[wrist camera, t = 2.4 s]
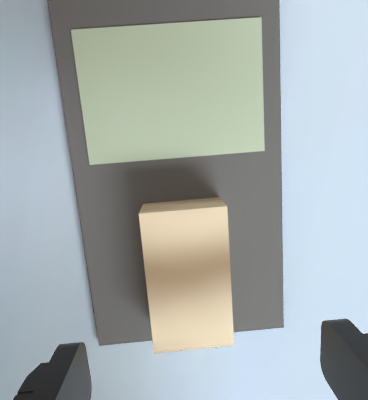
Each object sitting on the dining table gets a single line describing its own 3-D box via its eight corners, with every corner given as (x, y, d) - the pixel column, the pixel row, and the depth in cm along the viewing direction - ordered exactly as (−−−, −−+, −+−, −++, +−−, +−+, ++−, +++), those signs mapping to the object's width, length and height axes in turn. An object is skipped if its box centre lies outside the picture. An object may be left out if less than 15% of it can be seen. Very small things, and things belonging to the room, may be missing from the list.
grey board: (281, 323, 20) (284, 328, 19) (100, 341, 19) (98, 346, 19) (276, -11, 16) (279, -16, 15) (50, 3, 15) (46, -2, 15)
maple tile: (225, 319, 19) (234, 345, 17) (156, 326, 19) (153, 353, 16) (219, 197, 17) (227, 206, 15) (143, 203, 17) (138, 213, 15)
